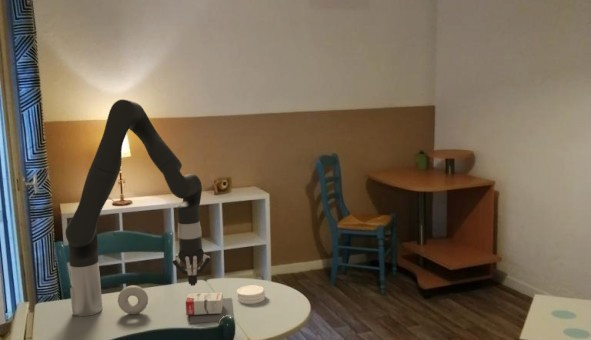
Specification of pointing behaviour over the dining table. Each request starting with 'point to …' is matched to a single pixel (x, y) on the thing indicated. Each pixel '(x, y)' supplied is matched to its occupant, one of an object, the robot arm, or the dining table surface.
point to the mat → (213, 317)
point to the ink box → (204, 303)
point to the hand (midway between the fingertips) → (193, 284)
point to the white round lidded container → (251, 294)
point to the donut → (132, 291)
